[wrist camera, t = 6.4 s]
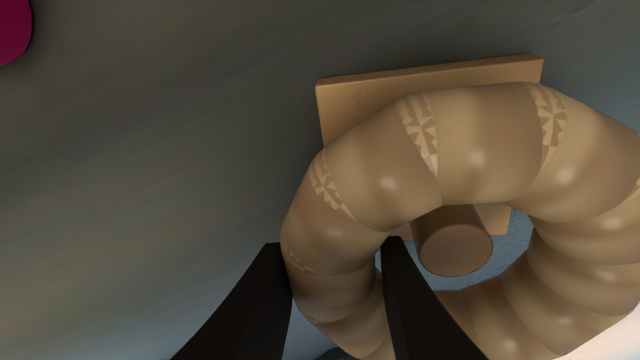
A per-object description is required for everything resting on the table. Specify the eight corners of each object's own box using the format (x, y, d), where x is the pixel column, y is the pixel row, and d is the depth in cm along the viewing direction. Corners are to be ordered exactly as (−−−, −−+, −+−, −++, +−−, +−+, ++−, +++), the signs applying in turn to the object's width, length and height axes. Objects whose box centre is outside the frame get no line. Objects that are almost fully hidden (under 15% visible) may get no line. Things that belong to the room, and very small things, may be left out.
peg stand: (497, 220, 18) (567, 332, 12) (337, 230, 19) (335, 336, 14) (530, 52, 13) (665, 107, 8) (316, 78, 15) (298, 142, 9)
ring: (565, 318, 14) (614, 393, 11) (313, 322, 15) (307, 391, 13) (679, 48, 8) (829, 79, 6) (261, 94, 10) (231, 136, 7)
